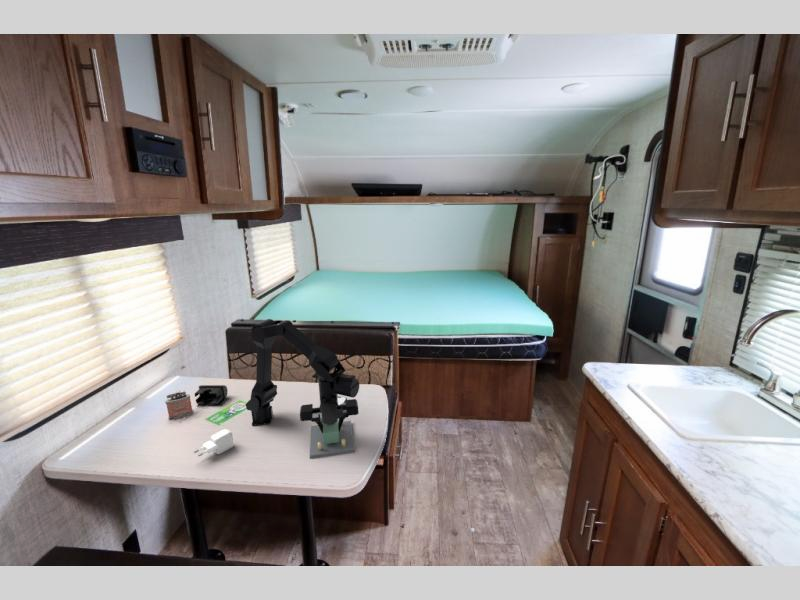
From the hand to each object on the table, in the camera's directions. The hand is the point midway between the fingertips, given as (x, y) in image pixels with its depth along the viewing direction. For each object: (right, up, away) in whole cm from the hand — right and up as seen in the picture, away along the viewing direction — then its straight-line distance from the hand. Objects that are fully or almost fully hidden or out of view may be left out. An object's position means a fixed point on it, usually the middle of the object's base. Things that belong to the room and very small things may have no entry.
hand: (331, 431), depth 123 cm
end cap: (-53, +3, +25) cm, 59 cm away
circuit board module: (0, -1, 0) cm, 1 cm away
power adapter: (-36, -5, -5) cm, 37 cm away
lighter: (-60, 0, +16) cm, 62 cm away
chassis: (0, -3, +1) cm, 3 cm away
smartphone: (-4, +1, +19) cm, 19 cm away
